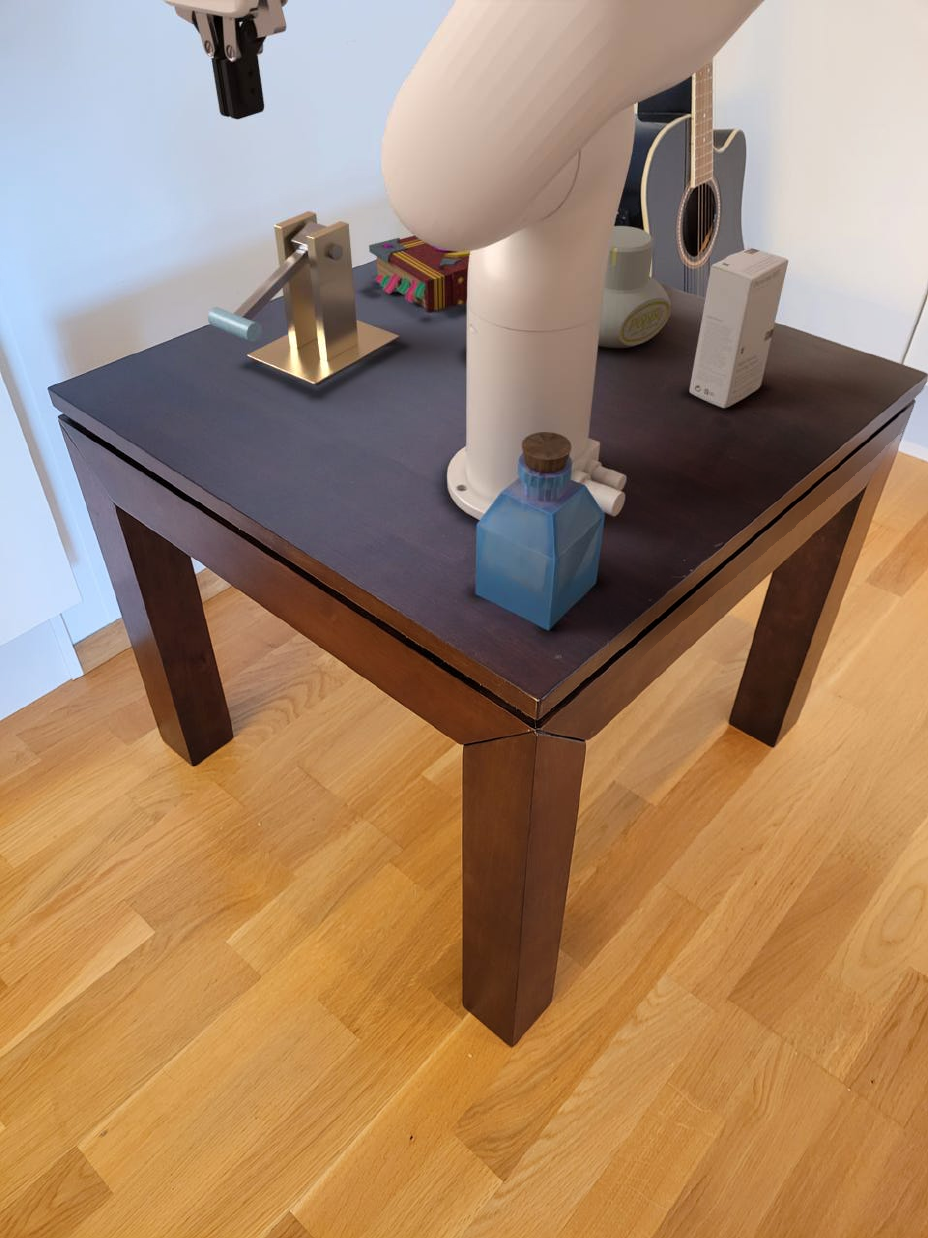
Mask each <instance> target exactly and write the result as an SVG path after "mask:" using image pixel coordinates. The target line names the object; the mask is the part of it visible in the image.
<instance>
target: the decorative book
mask: <svg viewBox="0 0 928 1238" xmlns="http://www.w3.org/2000/svg"><path fill="white" fill-rule="evenodd" d="M368 249H369V250H368V251H369V253H370V254H372V255H374V256H375V257H376V267H377V269H376V270H377V274H375V275H371V276H370V278H372V279H373V280H374V281H375V282H376V283H378V284H379V286H380V287H382V291H384V292H385V293H387V294H388V295H390V294H391V293H392V292H393V291H394V289H395V290H396V292H399V293H400V294H402V295H404V299H405V300H406V301H408V302H409V303H411V304H413V301H414V302H415V303H417V304H418V305H420V306H421V307H423V308H424V309H425V312H426V313H427V314H428V313H432V312H435V311H438V310H441V309H445V308H448V307H456V306H460V305H462V304H465V303H466V304H467V280H468V265H469V256H470V251H464V252H461V251H448V250H443V249H439V248H437V247H434V246H432V245H429V244H427V243H425V242H424V241H422V240H420V239H419V238H417V237H416V236H415V235H411V236H407V237H404V238H403V237H402V238H400V237H396V238H391V239H388V240H384V241H379V242H375V243H373V244H369V245H368Z"/></svg>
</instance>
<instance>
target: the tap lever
mask: <svg viewBox="0 0 928 1238" xmlns="http://www.w3.org/2000/svg"><path fill="white" fill-rule="evenodd" d="M326 227H328V226H327V225H324V224H321V223H318V222H317V223H314V222H311V221H310V222H309V223H308V224H307V225H306V226H305V227H304V228H303V229H302V230H301V231H300V232H299V233H298V234H297V235H296V236H295V237H294V238H293V239H292V240H291V242H292V244H293V246H294V249H295V252H294V253H293V254H292V255H291V256H290V257H289V258H288V259H287V260H286V261H285V262H284V263H283V264H282V265H281V266H279V267H278V268H277V269H276V270H275V271H274V272H272V273H271V275H270V276H269V277H268V278H266V280H265V281H264V282H263V283H262V284H261V285H260V286H259V287H257V289H256V290H254V292H253V293H252V294H251V295H250V296H249V297H248V298H247V299H245V301H244V302H243V303H242V304H241V305H240V306H239V307H238V308H237V309H236V310H235V311H234V312H231V311H228V310H226V309H223V308H221V307H218V306H215V307H212V308H211V309H209V312H208V314H207V321H208V323H209V325H210V326H211V327H213V328H216V329H218V330H221V331H224V332H226V333H228V334H230V335H233V336H236V337H238V338H241V339H243V340H245V341H248V342H250V343H255V342H257V341H259V339H260V338H261V336H262V326H261V325H260V323H258V322H256V321H253V320H252V319H254V317H256V316H257V315H258V313H259V312H261V311H262V309H264V307H266V305H268V304H269V302H270V301H271V300H272V299H274V297H275V296H276V295H277V294H278V293H279V292H280V291H281V290H283V287H284V286H285V285H286V284H287V283H288V282H289V281H290V280H291V279H292V278H293V277H294V276H295V275H296V274H297V273H298V272H299V271H300V270H301V269H302V268H303V266H304V265H305V264H308V265H310V264H309V255H308V246H307V237H306V236H307V235H310V234H312V233H314V232H317V231H319V230H321V229H324V228H326Z"/></svg>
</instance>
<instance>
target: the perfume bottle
mask: <svg viewBox="0 0 928 1238" xmlns="http://www.w3.org/2000/svg"><path fill="white" fill-rule="evenodd" d="M521 446H522V451H523V453H522V454H521V456H520V457H519V461H518V476H519V478H518V479H517V480H516V481H514V482H513V483H512V484H511V485H509V486H508V487H507V488H505V489H504V490H503V491H502V492H501V493H500V494H499V495H498V497H497V498H496V499H495V501H494V502H493V503H492V505H491V506H490V507H489V509H488V510H487V511H486V513H485V514H484V515H483V517H482V518H481V520H478V522H477V524H476V539H475V540H476V546H475V547H476V548H475V549H476V550H475V551H476V552H475V555H476V556H475V595H476V596H478V597H481V598H483V599H484V600H487V601H489V602H490V603H492V604H495V605H496V606H498V607H501V608H502V609H505V610H507V611H508V612H510V613H513V614H514V615H517V616H518V617H520V618H523V619H524V620H526V621H528V622H530V623H532V624H534V625H537V626H539V627H540V628H542V629H544V630H546V631H548V632H549V631H550V630H551V629H552V628H554V626H555V625H556V624H557V622H559V621H560V620H561V619H562V618H563V617H564V616H565V615H566V614H567V613H568V612H569V611H570V610H571V609H572V608H573V607H574V606H575V605H576V604H577V603H578V602H579V601H580V600H581V599H582V598H583V597H584V596H585V595H586V594H587V593H588V592H589V591H590V590H591V589H592V588H593V587H594V586H595V585H596V584H597V577H598V571H599V564H600V563H599V561H600V556H601V555H600V554H601V546H602V540H603V531H604V523H605V517H606V513H604V512H603V511H602V509H601V508H600V506H599V505H598V503H597V502H596V500H595V499H594V497H593V496H592V494H591V493H590V491H589V490H588V488H587V487H586V486H585V485H583V484H581V483H578V482H576V481H573V480H571V472H572V460H571V457H570V456H569V454H570V451H571V447H572V445H571V443H570V441H569V440H568V439H567V438H566V437H564V436H562V435H560V434H556V433H552V432H537V433H534V434H531V435H529V436H527V437H525V439H524V440H523V441H522V445H521Z"/></svg>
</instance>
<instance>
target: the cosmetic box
mask: <svg viewBox="0 0 928 1238" xmlns="http://www.w3.org/2000/svg"><path fill="white" fill-rule="evenodd" d="M788 264H789V259H788V258H786V257H783V256H780V255H776V254H773V253H769V252H766V251H763V250H759V249H755V248H753V247H747V248H745V249H743V250H741V251H738V252H735V253H732V254H730V255H728V256H726V257H725V258H724V259H722V260H720V261H717V262H715V263H713V264H712V265H711V266H710V270H709V276H708V281H707V287H706V292H705V299H704V304H703V311H702V317H701V323H700V328H699V333H698V339H697V346H696V351H695V355H694V356H695V357H694V361H693V368H692V375H691V377H690V378H691V380H690V385H689V393H690V394H691V395H693V396H694V397H697V398H698V399H701V400H703V401H705V402H707V403H709V404H712V405H715V406H717V407H719V408H722V409H727V408H729V407H731V406H733V405H735V404H736V403H738V402H740V401H742V400H744V399H745V398H747V397H748V396H750V395H751V394H753V393H754V392H756V391H757V390H759V389H760V388H761V385H762V382H763V377H764V373H765V368H766V365H767V359H768V356H769V351H770V346H771V343H772V337H773V333H774V328H775V323H776V319H777V316H778V315H777V314H778V310H779V307H780V306H779V305H780V301H781V297H782V293H783V288H784V281H785V279H786V274H787V270H788V269H787V268H788Z"/></svg>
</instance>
